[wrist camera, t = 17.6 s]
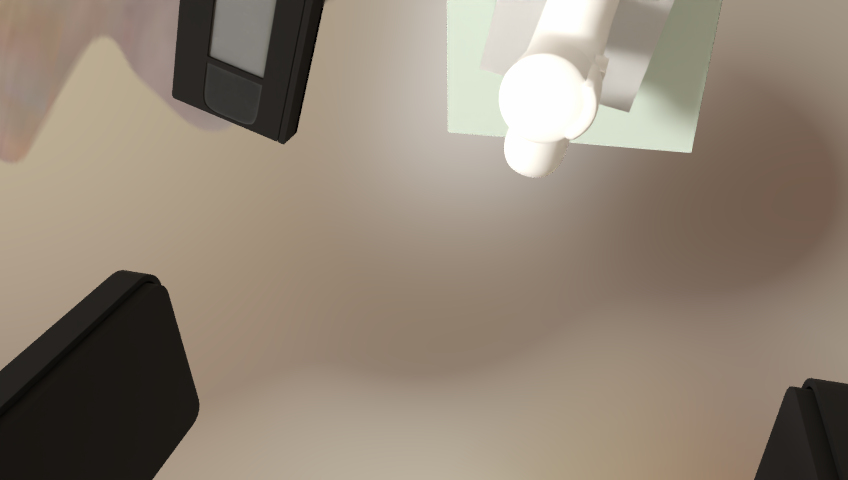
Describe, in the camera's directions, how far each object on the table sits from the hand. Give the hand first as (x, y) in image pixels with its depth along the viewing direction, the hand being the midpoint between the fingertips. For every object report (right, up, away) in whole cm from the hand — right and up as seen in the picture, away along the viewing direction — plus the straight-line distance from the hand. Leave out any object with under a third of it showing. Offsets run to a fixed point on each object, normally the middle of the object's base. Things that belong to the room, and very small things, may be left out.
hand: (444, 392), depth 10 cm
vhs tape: (-10, +16, +28) cm, 34 cm away
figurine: (+7, +14, +22) cm, 27 cm away
